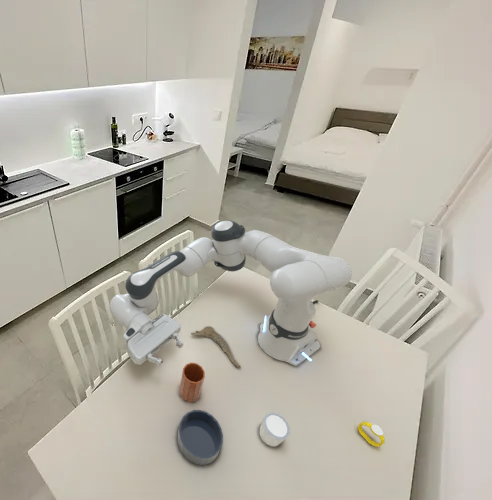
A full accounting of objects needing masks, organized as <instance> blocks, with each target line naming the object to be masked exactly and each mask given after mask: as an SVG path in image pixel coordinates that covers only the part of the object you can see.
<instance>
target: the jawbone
mask: <svg viewBox="0 0 492 500" xmlns="http://www.w3.org/2000/svg"><path fill="white" fill-rule="evenodd" d="M190 335H191V336H195V337H207V338H210V339H212V340H213V341H214V342H215V343H216V344H218V346H220V348H221V350H222V352H223V353H226V355H227V357H228V358H229V359H230V361H231V362H232V363H233V365H234V366H235V367H236V368H237V369H239V368H240V369H241V368H242V367H241V365H240V364H239V363H238V361H237V360H236V359H235V358H234V357H233V355H232V353H231V350H230V347H229V345H228V344H227V342H226V340H225V339H224V338H223V337H222V335H220V334H219V333H218V332H217V331H216V330H215V328H214V327H213V326H205V327H204V328H202V329H200V330H195V332H190Z"/></svg>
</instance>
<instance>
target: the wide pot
mask: <svg viewBox="0 0 492 500" xmlns="http://www.w3.org/2000/svg"><path fill="white" fill-rule="evenodd" d="M222 430H223V429H222V426H221V425H220V423H219V420H217V418H215V417H214V415H212V414H211V413H209V412H208V411H205V410H201V409H192V410H190V411H187V412H186V413H185V414H184V415H183V416H182V417H181V420H180V422H179V425H178V430H177V431H178V432H177V445H178V447H179V450H180V452H181V453H182V455H183V456H184V457H185V458H186V459H187V460H188V461H189V462H191V463H192V464H196V465H198V466H204V465H205V466H206V465H208V464H211V463H213V462H214V461H215V460H216V458H218V456H219V453H220V451H221V449H222V446H223V443H224V434H223V433H224V432H223V431H222Z"/></svg>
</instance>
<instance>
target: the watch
mask: <svg viewBox="0 0 492 500" xmlns="http://www.w3.org/2000/svg"><path fill="white" fill-rule="evenodd" d="M363 426H365V427H368V428H369V429H370V431H371V433H372V434H373V435H374V436H377V437H378V438H379V441H380V442H376V441H374V440H372V439H371V438H370V436H368V434H367V433H366V432H365V431H364V429H363ZM357 430H358V433H359V435H360V436H362V438H363V439H364V440H365V441H366V442H367V443H368V444H370V445H371V446H373V447H377V448H380V447H382V446H383V445H384V444H386V443H385V441H386V440H385V439H386V438H385V436H384V430H383V428H381V426H379V425H377V424H373V423H371V422H369V421H368V422H367V421H361V423H359V424H358V426H357Z"/></svg>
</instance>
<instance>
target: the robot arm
mask: <svg viewBox="0 0 492 500" xmlns="http://www.w3.org/2000/svg"><path fill="white" fill-rule="evenodd" d="M211 238H212V239H211ZM211 238H210V237H206V236H203V237H198V238H197V239H195V240H194V241H192V242H190V243H189V244H187V245H186V246H185V247H183V248H182V249H181V250H175V251H173V252H170V253H167V254H165V255H164V256H163V257H160V258H159V259H158V260H156V261H154V262H153V263H151V264H150V265H148V266H146V267H144V268H142V269H139V270H136V271H135V272H132V273H131V274H130V275H128V277H127V279H126V280H125V285H124V287H125V290H126V292H127V293H124V294H120V293H119V294H115V295H114V296H113V297H112V298H111V300H110V302H109V304H108V305H109V306H108V310H109V313H110V315H111V316H112V318H113V319H114V320H115V321H116V322H117V323H119V325H121V326H122V327H124V328H125V330H126V331H125V333H124V334H123V336H122V337H123V338H122V343H123V348H124V349H125V350H126V351H127V354H128V356H129V358H130V359H131V360H132V362H133V363H134V364H135V365H139V366H141V365H142V364H143V363H144V362H146V361H148V362H149V363H154V364H156V365H157V366H158V367H160V366H162V365H163V364H164V360H163V358H161V357H160V356H158V357H155V356H153V355H155V354H156V353H157V352H158V351H159V350H160V349H162V348H163V347H164V346H165V345H167V344H169V342H170V341H171V340H173V341H176V343H175V346H176V347H177V348H178V349H181V348H182V347H184V342H183V341H182V340H181V339H180V337H179V334H180V332H181V329H182V326H181V324H180V322H178V321H177V320H176V319H174V318H172V317H170V316H169V315H168V314H159V315H158V316H157V317H155V318H154V319H153V318H152V317H150V316H149V315H151V314H153V312H154V311H156V310H157V308H158V307H159V303H160V301H159V297H158V292H157V290H156V285H157V283H158V281H159V280H161V279H162V278H164V277H165V276H167V275H168V274H170V273H171V272H173V271H175V272H176V273H177V274H179V275H180V276H183V277H192V276H193V277H194V275H196V274H198V273H199V272H200V271H201V270H203V268H205V266H207V265H208V264H209V263H211V262H213V263H214V266H216V267H217V268H221V269H222V270H223V271H226V272H232V273H233V272H238V271H240V270H242V269H243V268H244V267H245V265H246V259H247V258H246V256H249V257H250V258H251V259H253V260H254V261H255V262H257V263H258V264H259V265H260V266H262V267H263V268H265V269H266V270H268V271H269V272H270V273H271V274H270V276H269V277H270V278H269V286H270V290H271V291H272V294H273V295H274V296H275V297H277V298H278V300H277V303H276V305H275V308H274V309H273V310H272V312H271V313H270V314H269V315H268V316H267V315H265V316H264V321H263V322H262V323H261V324H260V325H259V333H258V335H257V341H258V345H259V346H260V348H261V349H262V351H264V353H265V354H267V355H268V356H269V357H271V358H272V359H275V360H277V361H281V362H286V363H288V364H290V365H292V366H295V367H296V366H299V365H300V364H302V362H304V361H306V360H308V361H309V362H312V358H310V357H311V356H312V355H313V354H315V353H316V352H317V351H318V350H319V349H320V348H321V343H320V342H319V340H318V338H317V337H318V335H317V332H316V331H315V329H314V328H315V327H316V326H317V323H315V322H314V320H313V318H314V317H315V315H316V308H315V305H314V304H316V303H319V300H317V299H316V300H314V299H315V298H316V297H319V296H321V295H324V294H328V293H331V292H336V291H338V290H340V289H341V288H343V287H345V286H347V285H348V284H349V283H350V282H351V280H352V277H353V272H352V271H353V270H352V268H351V266H350V264H349V263H348V262H347V261H346V260H345V259H344V258H342V257H339V256H333V255H325V254H321V253H316V252H315V251H314V252H313V251H311V250H306V249H303V248H300V247H296V246H293V245H291V244H289V243H287V242H286V241H284V240H281V239H280V238H278V237H277V236H274V235H273V234H271V233H268V232H266V231H262V230H258V229H253V230H249V231H246V228H245V226H244V225H242V224H239V223H238V222H236V221H233V220H231V219H222V220H219V221H217V222H216V223H214V225H212V227H211ZM312 300H314V301H312Z"/></svg>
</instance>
